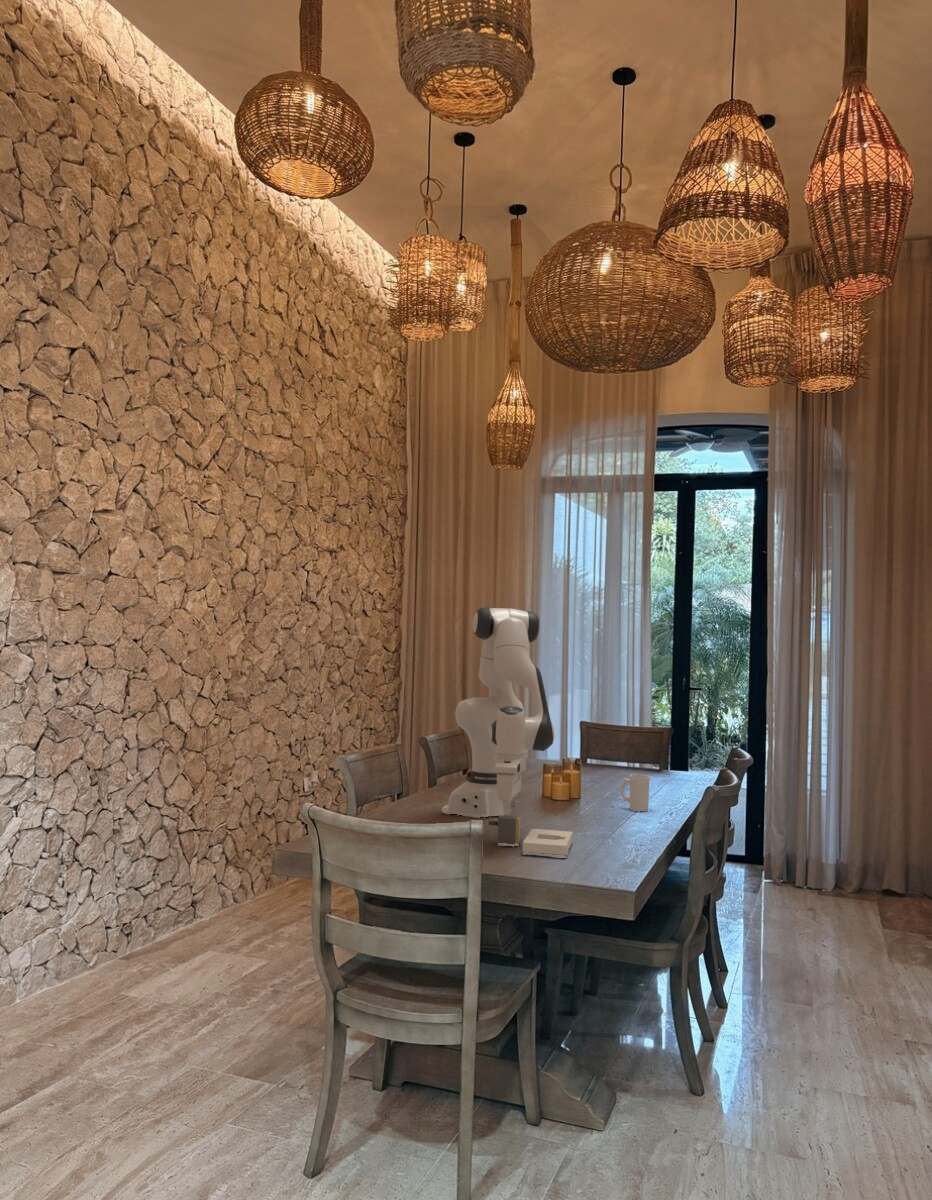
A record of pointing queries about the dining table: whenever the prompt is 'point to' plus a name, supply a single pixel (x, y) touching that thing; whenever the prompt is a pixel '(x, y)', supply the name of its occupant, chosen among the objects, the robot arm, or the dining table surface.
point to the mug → (637, 792)
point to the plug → (508, 829)
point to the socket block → (548, 842)
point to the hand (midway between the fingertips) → (509, 811)
